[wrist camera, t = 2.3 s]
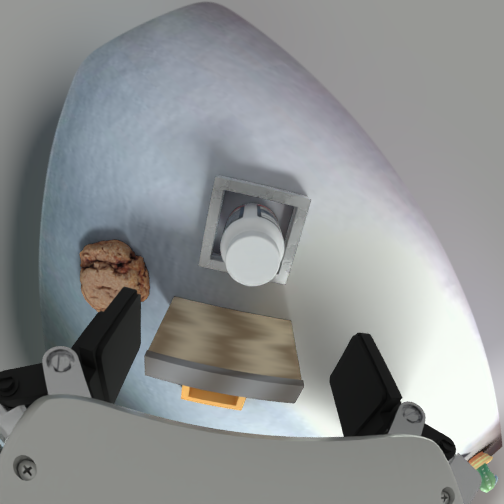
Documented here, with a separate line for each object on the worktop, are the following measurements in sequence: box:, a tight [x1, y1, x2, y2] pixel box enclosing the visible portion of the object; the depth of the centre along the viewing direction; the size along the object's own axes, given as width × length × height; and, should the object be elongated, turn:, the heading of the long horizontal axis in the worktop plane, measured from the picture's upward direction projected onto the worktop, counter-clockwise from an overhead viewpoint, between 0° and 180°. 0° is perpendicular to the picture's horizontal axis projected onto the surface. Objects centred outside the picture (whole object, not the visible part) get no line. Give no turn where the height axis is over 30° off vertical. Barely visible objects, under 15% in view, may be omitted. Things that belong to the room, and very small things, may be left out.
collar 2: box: [199, 175, 311, 285], centre depth 27 cm, size 9×9×2 cm
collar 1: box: [181, 385, 246, 410], centre depth 35 cm, size 9×9×2 cm
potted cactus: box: [468, 451, 498, 492], centre depth 54 cm, size 15×16×25 cm
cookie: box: [80, 240, 150, 312], centre depth 29 cm, size 10×11×3 cm
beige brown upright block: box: [144, 296, 304, 403], centre depth 27 cm, size 14×3×11 cm, turn 77°
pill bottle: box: [220, 203, 284, 286], centre depth 24 cm, size 5×5×9 cm
